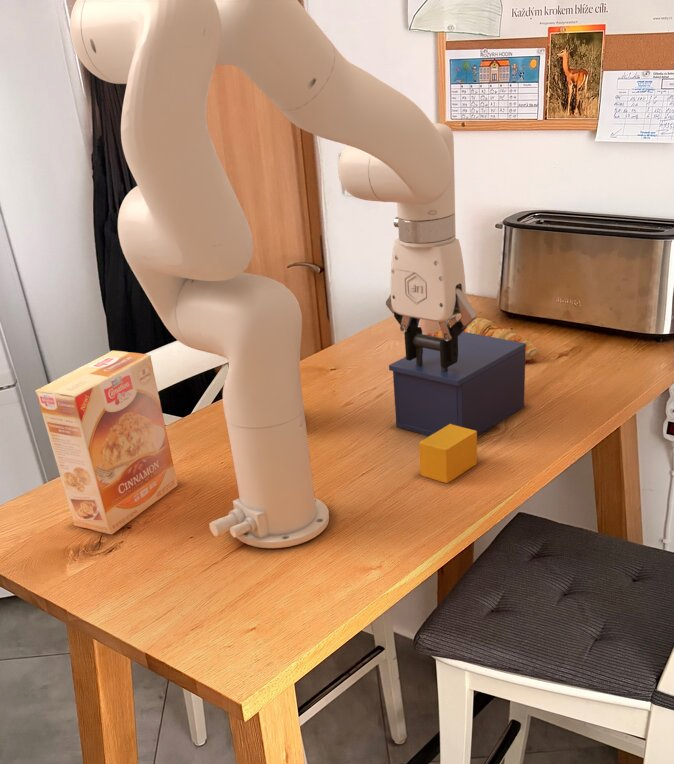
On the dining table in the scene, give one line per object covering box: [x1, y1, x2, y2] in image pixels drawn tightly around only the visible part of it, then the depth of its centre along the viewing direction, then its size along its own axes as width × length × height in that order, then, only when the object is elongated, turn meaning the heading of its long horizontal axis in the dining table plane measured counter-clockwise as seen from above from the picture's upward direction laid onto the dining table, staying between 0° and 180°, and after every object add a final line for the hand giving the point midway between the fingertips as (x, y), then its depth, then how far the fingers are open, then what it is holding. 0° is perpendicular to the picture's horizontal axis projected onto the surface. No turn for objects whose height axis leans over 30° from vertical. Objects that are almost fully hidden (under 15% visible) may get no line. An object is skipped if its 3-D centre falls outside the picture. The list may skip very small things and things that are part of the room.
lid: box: [388, 332, 526, 386], centre depth 134 cm, size 17×13×5 cm
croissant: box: [426, 317, 539, 361], centre depth 160 cm, size 21×10×8 cm, turn 60°
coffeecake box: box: [35, 349, 179, 536], centre depth 121 cm, size 15×7×20 cm, turn 151°
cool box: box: [392, 349, 526, 437], centre depth 138 cm, size 16×13×9 cm
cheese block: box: [418, 424, 478, 484], centre depth 125 cm, size 7×5×5 cm, turn 137°
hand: (431, 360), depth 131 cm, fingers closed on lid, 5 cm apart
